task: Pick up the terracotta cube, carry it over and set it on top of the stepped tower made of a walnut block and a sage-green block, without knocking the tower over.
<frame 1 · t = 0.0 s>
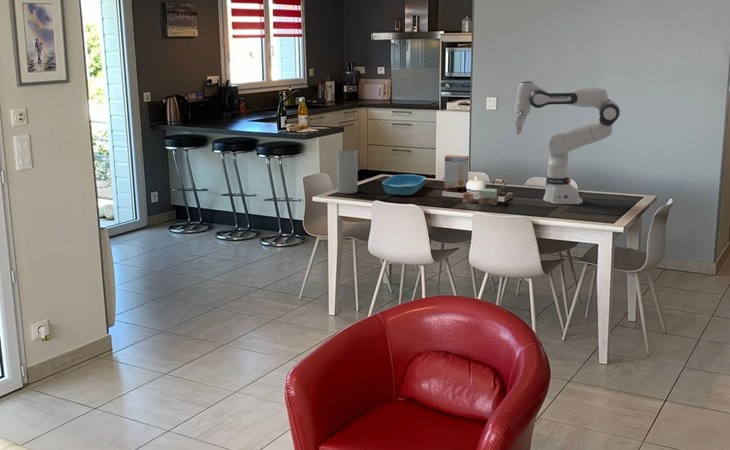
hand: (518, 133, 467), 39 cm above the table, tool pointing down, fingers open, 8 cm apart
cylinder vase: (347, 192, 494), on the table
cracker box: (455, 189, 503), on the table
walnut block: (488, 203, 464), on the table
casserole dish: (404, 191, 498), on the table
terracotta cube: (467, 201, 467), on the table
sage block: (489, 196, 463), point 4 cm above the table
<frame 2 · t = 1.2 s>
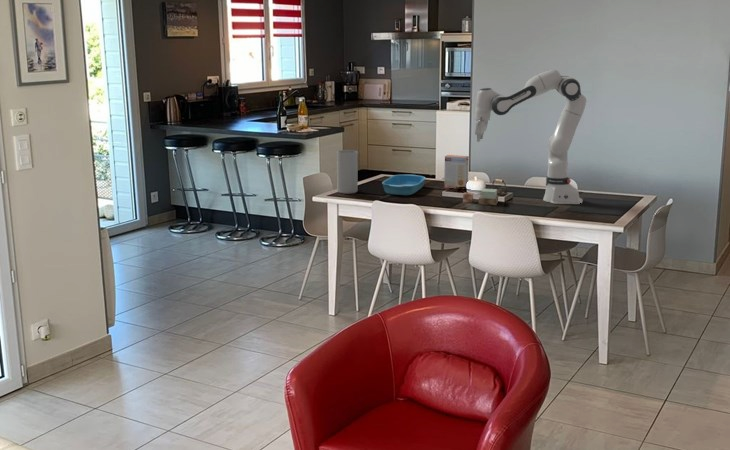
hand: (479, 140, 463), 35 cm above the table, tool pointing down, fingers open, 8 cm apart
walnut block: (488, 203, 464), on the table, touching sage block
sage block: (489, 197, 463), point 3 cm above the table, touching walnut block
everything else where it was.
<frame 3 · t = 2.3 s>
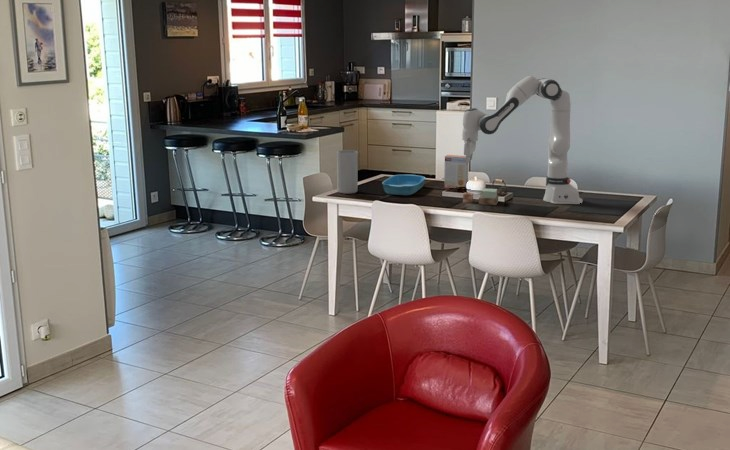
hand: (469, 160, 461), 24 cm above the table, tool pointing down, fingers open, 8 cm apart
walnut block: (488, 203, 464), on the table
sage block: (489, 196, 463), point 4 cm above the table
everything else where it was.
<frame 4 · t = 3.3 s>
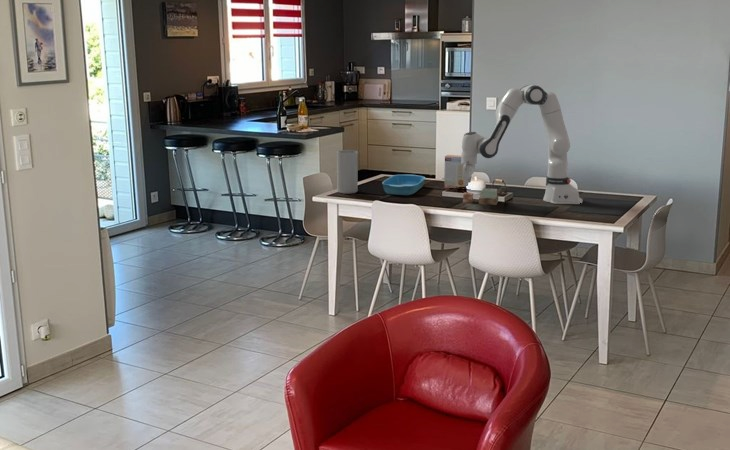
hand: (467, 183, 465), 11 cm above the table, tool pointing down, fingers open, 8 cm apart
walnut block: (488, 203, 464), on the table, touching sage block
sage block: (489, 196, 463), point 4 cm above the table, touching walnut block
everything else where it was.
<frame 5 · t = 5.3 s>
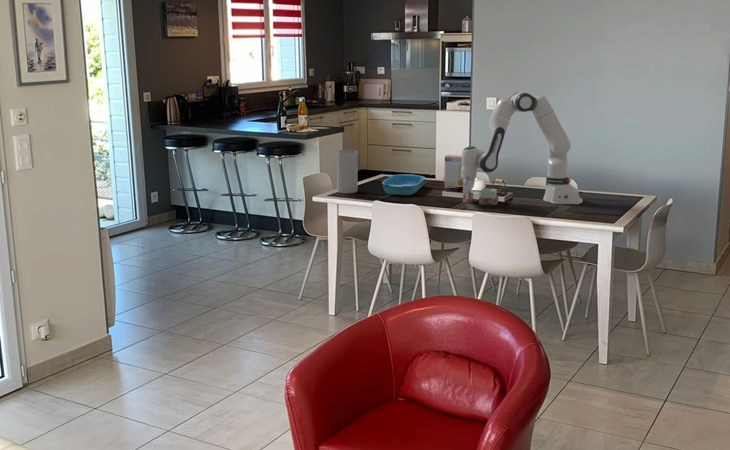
hand: (468, 198, 467), 2 cm above the table, tool pointing down, fingers closed on terracotta cube, 5 cm apart
terracotta cube: (467, 201, 467), on the table, touching gripper
everything else where it was.
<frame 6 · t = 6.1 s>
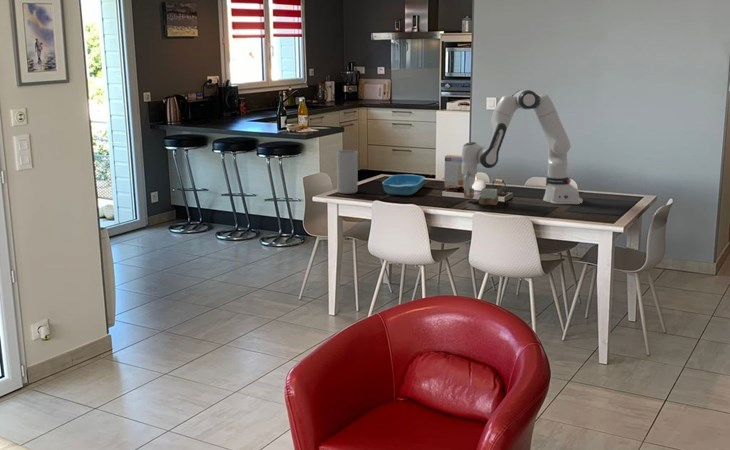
hand: (468, 194, 466), 5 cm above the table, tool pointing down, fingers closed on terracotta cube, 5 cm apart
terracotta cube: (468, 197, 466), point 2 cm above the table, touching gripper
everything else where it was.
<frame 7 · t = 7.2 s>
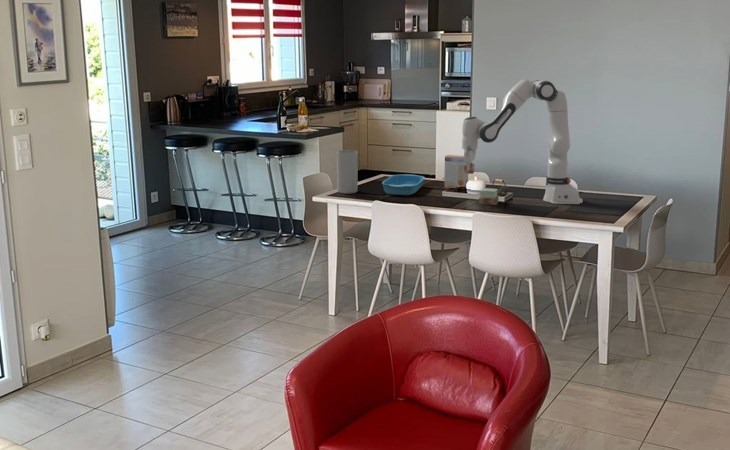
hand: (469, 169, 462), 19 cm above the table, tool pointing down, fingers closed on terracotta cube, 5 cm apart
terracotta cube: (469, 172, 463), point 17 cm above the table, touching gripper
everything else where it was.
when the fingers open (11 cm above the table, at t = 10.7 s): terracotta cube drops 1 cm, resting on sage block.
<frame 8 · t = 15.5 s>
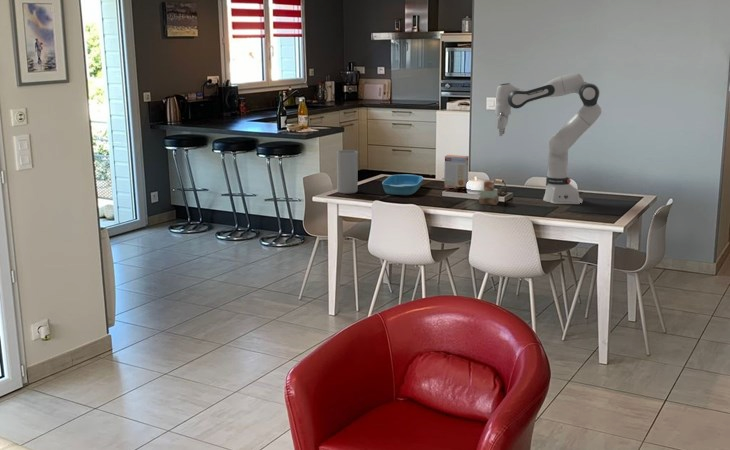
hand: (501, 134, 471), 37 cm above the table, tool pointing down, fingers open, 8 cm apart
terracotta cube: (488, 189, 463), point 7 cm above the table, touching sage block
sage block: (488, 196, 464), point 4 cm above the table, touching terracotta cube, walnut block
at the end: terracotta cube 0.6 cm off-centre on the sage block, point 4.0 cm above the sage block's base; terracotta cube tilted 1°; sage block 0.6 cm off-centre on the walnut block, point 4.0 cm above the walnut block's base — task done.
